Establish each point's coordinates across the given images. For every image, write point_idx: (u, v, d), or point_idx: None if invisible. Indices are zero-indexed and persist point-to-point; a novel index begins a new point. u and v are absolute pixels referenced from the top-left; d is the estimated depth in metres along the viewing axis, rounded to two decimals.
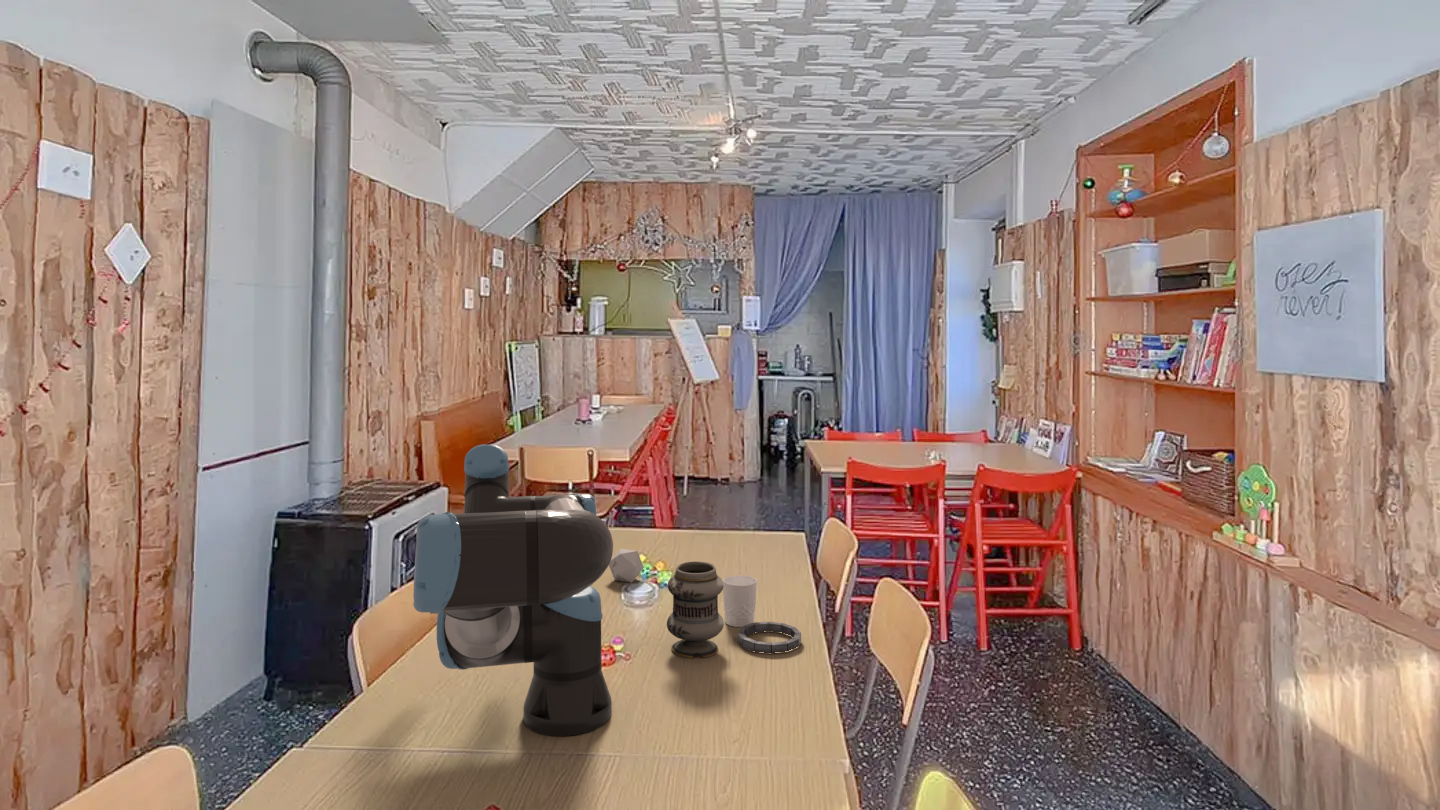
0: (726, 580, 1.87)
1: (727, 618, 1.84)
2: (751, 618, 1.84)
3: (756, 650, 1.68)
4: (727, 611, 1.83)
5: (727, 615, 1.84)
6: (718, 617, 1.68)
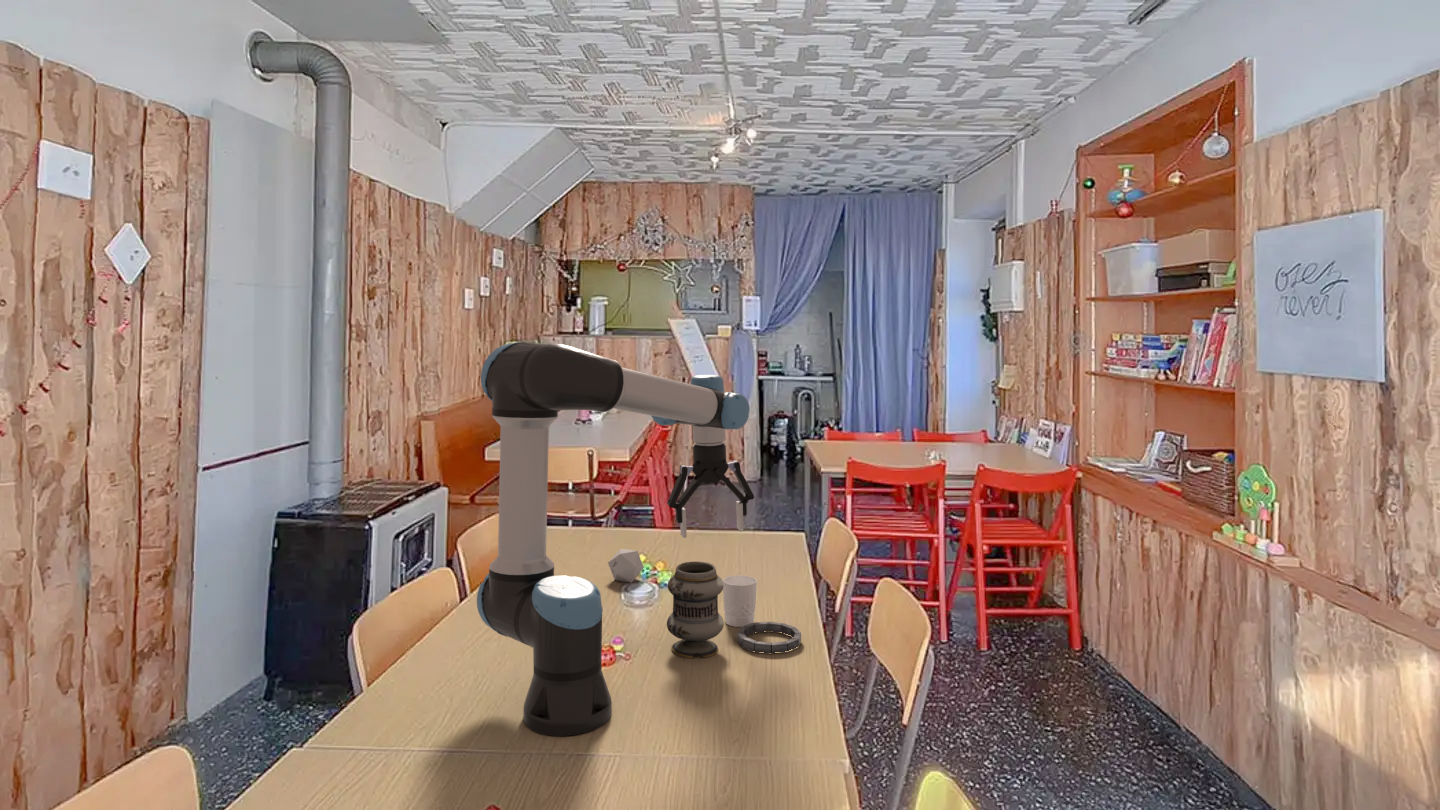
0: (726, 580, 1.87)
1: (727, 618, 1.84)
2: (751, 618, 1.84)
3: (756, 650, 1.68)
4: (727, 611, 1.83)
5: (727, 615, 1.84)
6: (718, 617, 1.68)
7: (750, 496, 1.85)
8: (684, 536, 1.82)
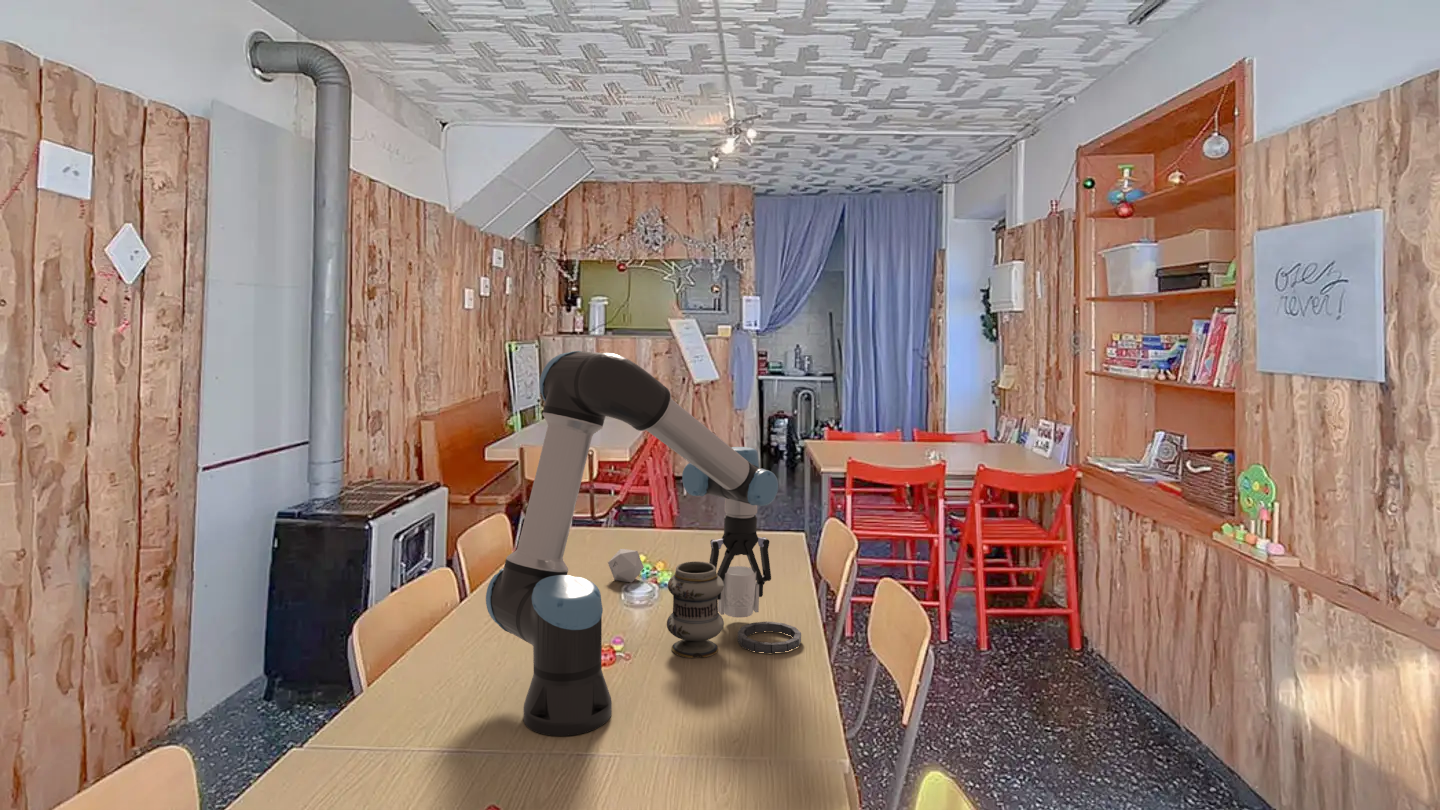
0: None
1: (726, 609, 1.83)
2: (750, 609, 1.83)
3: (756, 650, 1.68)
4: (726, 601, 1.83)
5: (726, 605, 1.83)
6: (718, 617, 1.68)
7: (767, 577, 1.85)
8: (722, 613, 1.83)
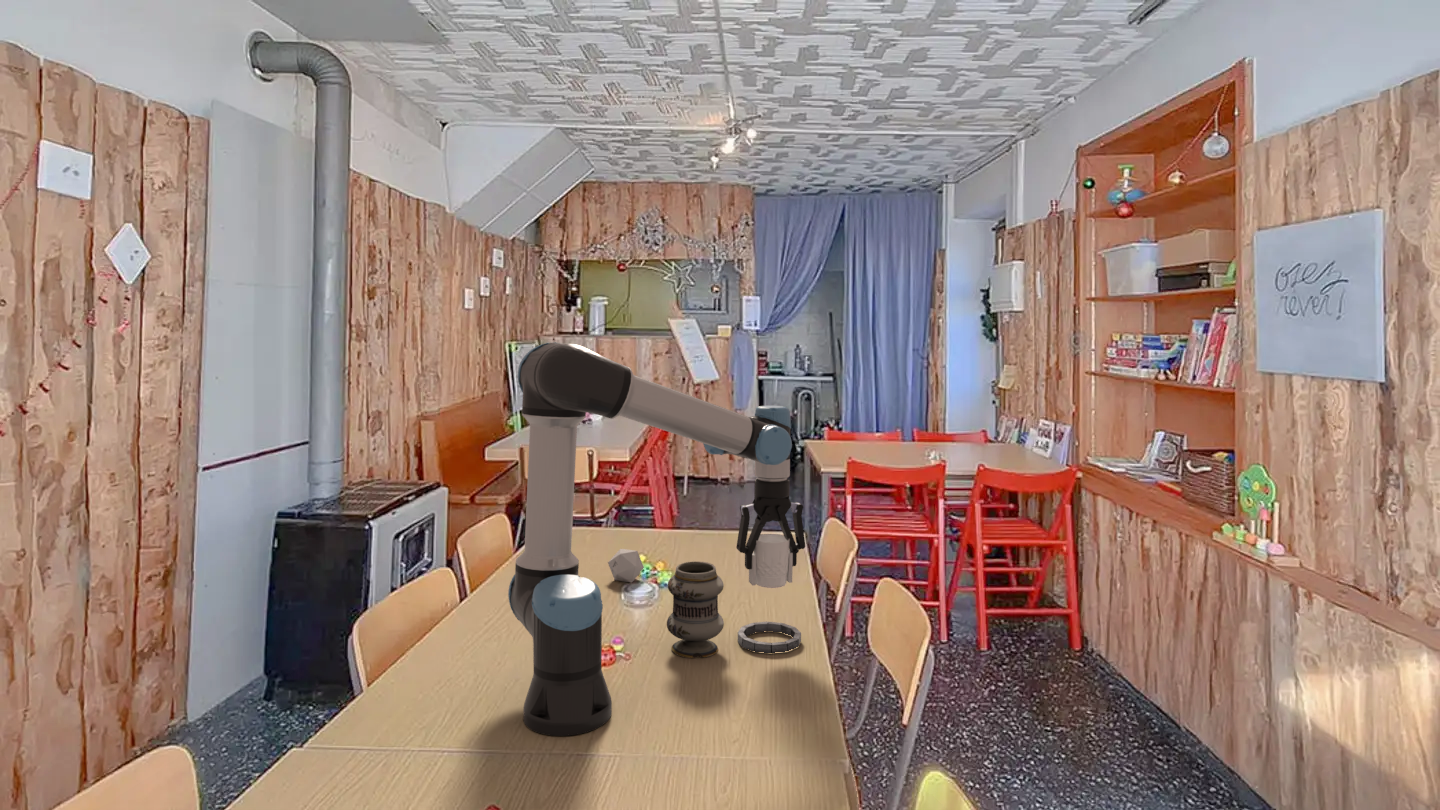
0: None
1: (758, 579, 1.71)
2: (784, 578, 1.71)
3: (756, 650, 1.68)
4: (758, 571, 1.70)
5: (758, 575, 1.71)
6: (718, 617, 1.68)
7: (801, 545, 1.73)
8: (753, 584, 1.70)
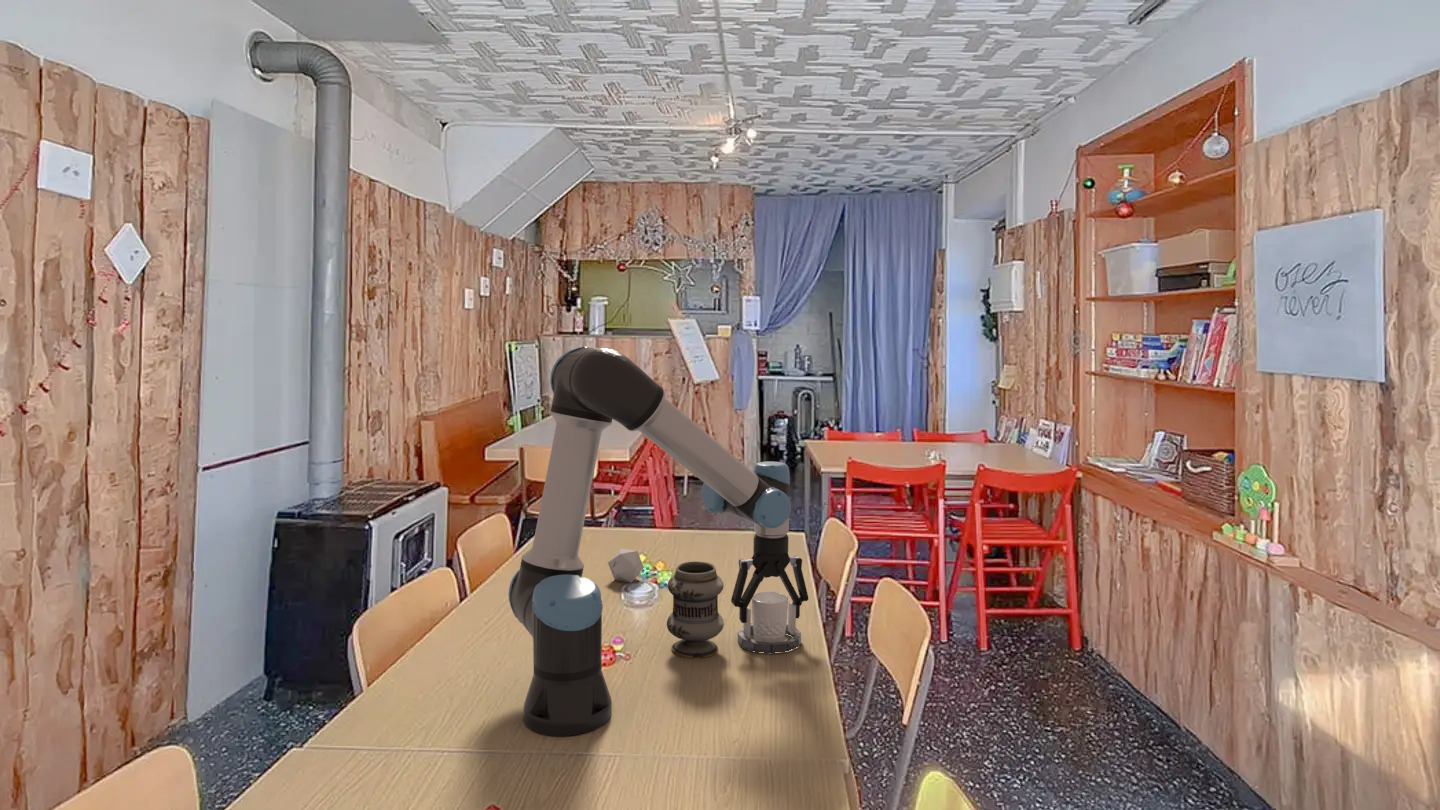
0: (755, 597, 1.75)
1: (757, 638, 1.72)
2: (782, 637, 1.72)
3: (756, 650, 1.68)
4: (757, 630, 1.71)
5: (756, 635, 1.72)
6: (718, 617, 1.68)
7: (804, 597, 1.74)
8: (748, 637, 1.71)
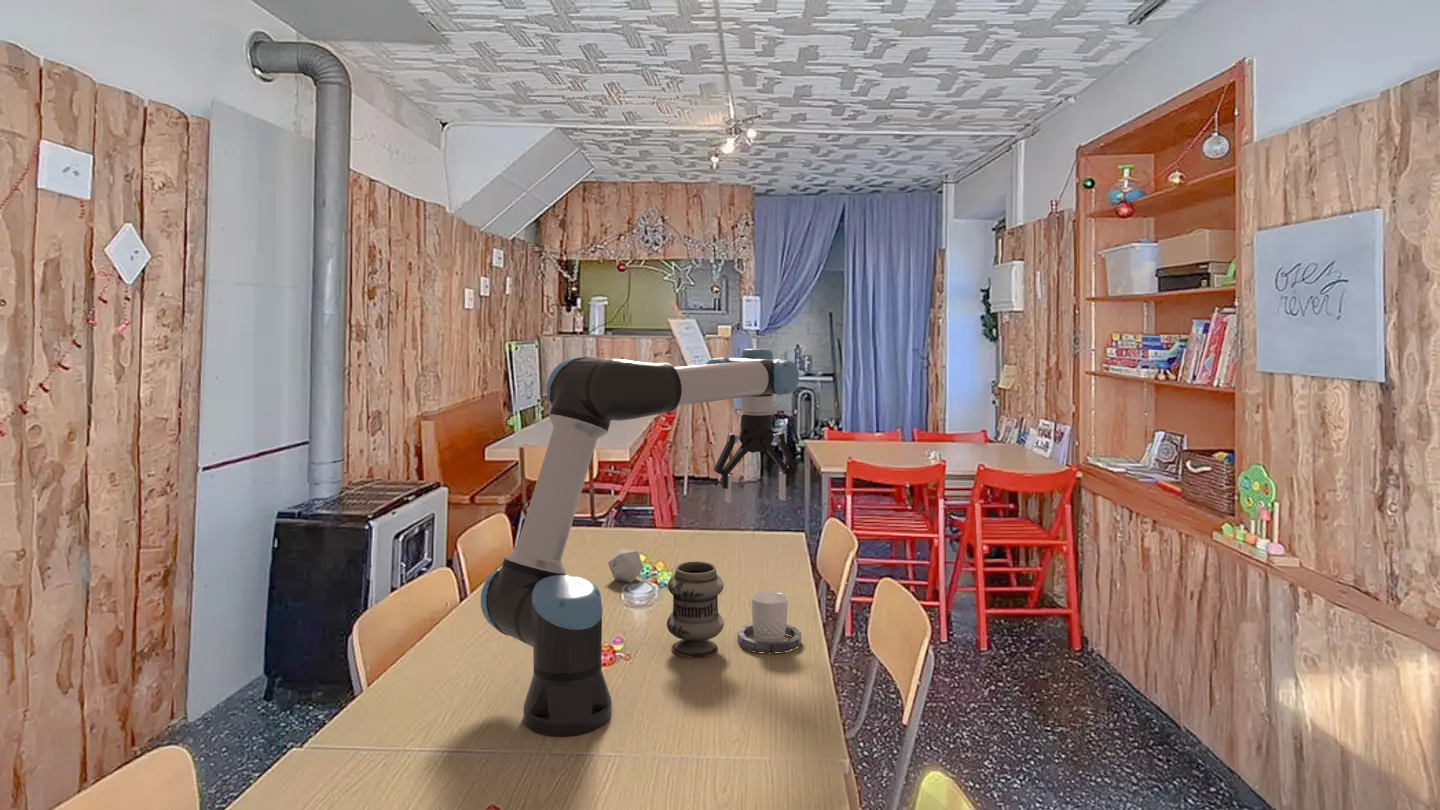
0: (755, 597, 1.75)
1: (756, 638, 1.72)
2: (782, 638, 1.72)
3: (756, 650, 1.68)
4: (756, 630, 1.72)
5: (756, 635, 1.72)
6: (718, 617, 1.68)
7: (793, 467, 1.93)
8: (729, 502, 1.90)
